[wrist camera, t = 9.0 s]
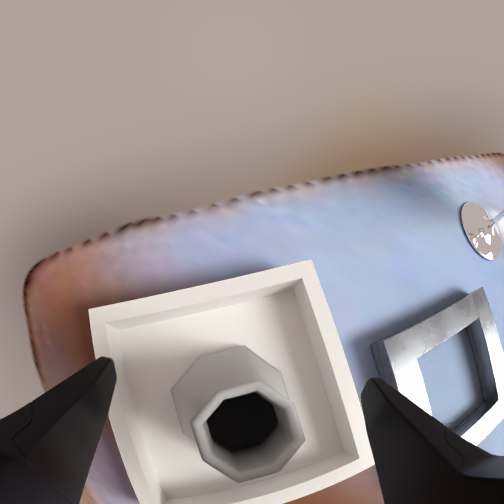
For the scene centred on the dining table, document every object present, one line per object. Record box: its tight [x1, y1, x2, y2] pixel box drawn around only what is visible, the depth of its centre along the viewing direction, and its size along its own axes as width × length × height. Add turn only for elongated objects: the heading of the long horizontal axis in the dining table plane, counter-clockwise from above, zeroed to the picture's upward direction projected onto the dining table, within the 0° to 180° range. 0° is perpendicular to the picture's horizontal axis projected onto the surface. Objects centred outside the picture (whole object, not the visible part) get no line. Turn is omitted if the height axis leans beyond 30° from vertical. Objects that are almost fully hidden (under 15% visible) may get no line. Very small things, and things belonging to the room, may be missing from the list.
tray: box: [88, 259, 375, 504], centre depth 15 cm, size 14×14×3 cm
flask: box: [171, 345, 306, 483], centre depth 11 cm, size 7×7×10 cm
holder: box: [370, 287, 504, 446], centre depth 17 cm, size 13×13×2 cm
